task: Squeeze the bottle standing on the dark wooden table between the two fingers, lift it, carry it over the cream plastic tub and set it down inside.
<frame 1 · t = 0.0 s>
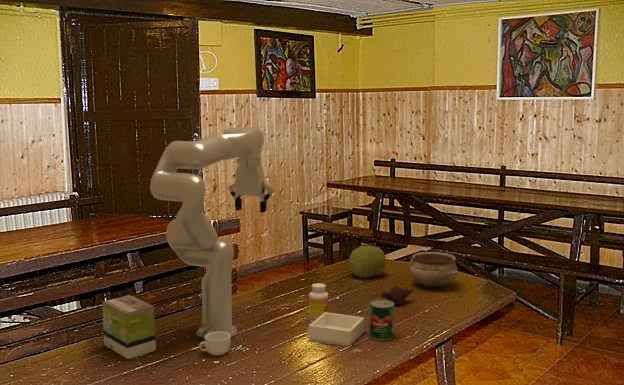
hand: (250, 211, 234), 37 cm above the table, tool pointing down, fingers open, 9 cm apart
tub: (337, 336, 216), on the table
supplement bottle: (318, 321, 230), on the table
teacup: (214, 354, 201), on the table
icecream: (397, 304, 249), on the table
tea box: (129, 349, 205), on the table
fruit: (367, 277, 285), on the table
cooking pot: (432, 286, 272), on the table
canned tomato: (381, 336, 216), on the table
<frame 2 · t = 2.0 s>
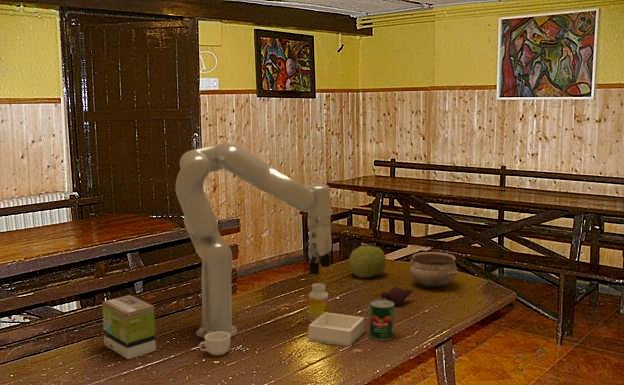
hand: (319, 270, 227), 18 cm above the table, tool pointing down, fingers open, 9 cm apart
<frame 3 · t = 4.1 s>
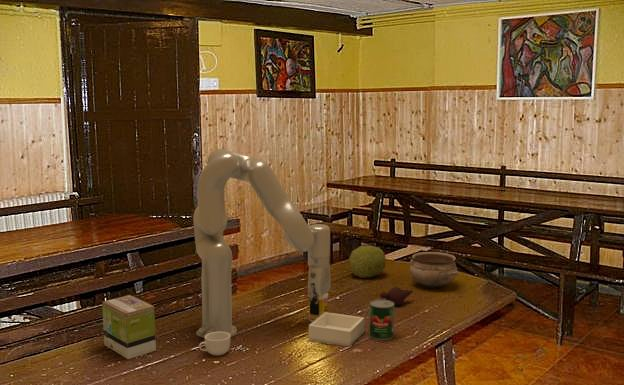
hand: (318, 310, 229), 4 cm above the table, tool pointing down, fingers closed on supplement bottle, 6 cm apart
supplement bottle: (318, 321, 230), on the table, touching gripper
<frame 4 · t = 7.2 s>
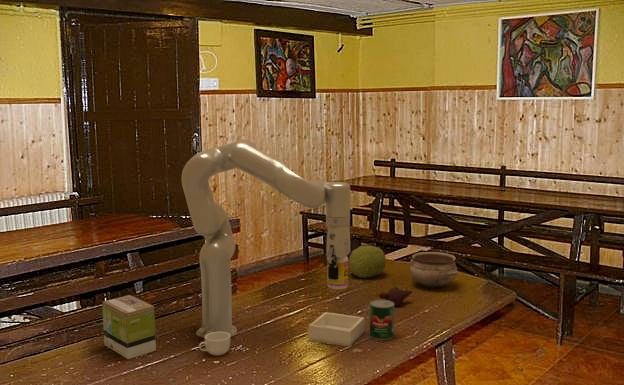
hand: (337, 275, 213), 20 cm above the table, tool pointing down, fingers closed on supplement bottle, 6 cm apart
supplement bottle: (337, 287, 213), point 16 cm above the table, touching gripper
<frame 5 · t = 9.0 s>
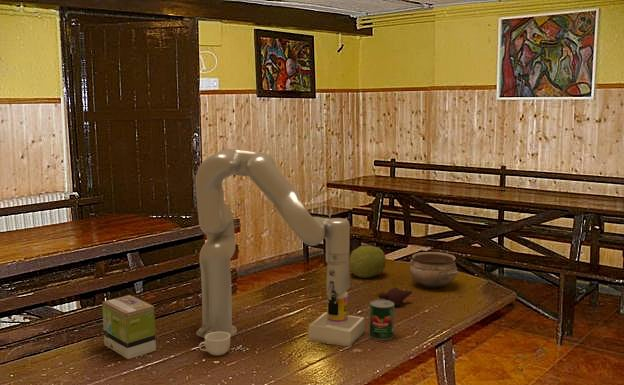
hand: (337, 310, 214), 9 cm above the table, tool pointing down, fingers closed on supplement bottle, 6 cm apart
supplement bottle: (337, 322, 215), point 5 cm above the table, touching gripper
when the fingers open (7 cm above the table, at t = 10.5 s): supplement bottle drops 2 cm, resting on tub.
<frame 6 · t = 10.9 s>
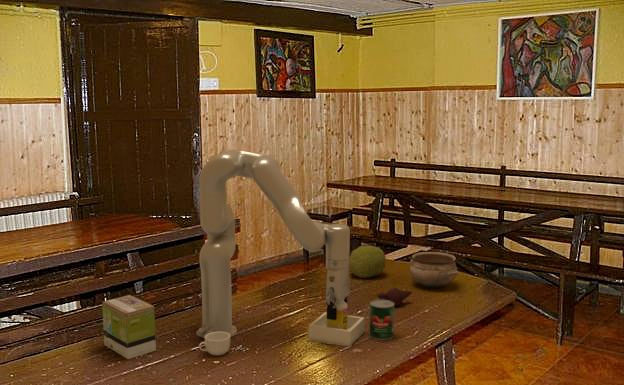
hand: (337, 314, 215), 7 cm above the table, tool pointing down, fingers open, 9 cm apart
supplement bottle: (336, 333, 216), point 1 cm above the table, touching tub
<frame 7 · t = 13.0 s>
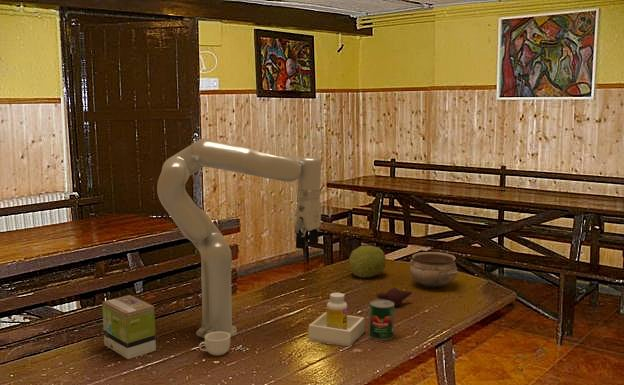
hand: (307, 245, 221), 28 cm above the table, tool pointing down, fingers open, 9 cm apart
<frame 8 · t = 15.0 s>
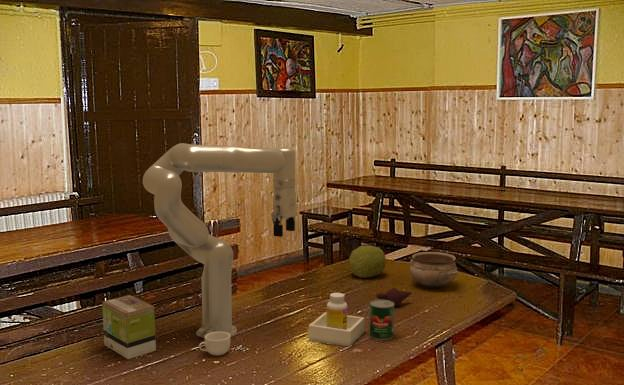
hand: (284, 233, 228), 30 cm above the table, tool pointing down, fingers open, 9 cm apart
at the end: supplement bottle 0.3 cm from the tub (horizontally); supplement bottle point 0.8 cm above the table; the gripper is holding nothing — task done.
